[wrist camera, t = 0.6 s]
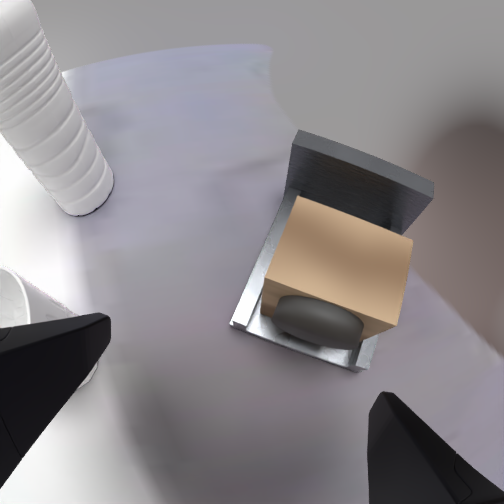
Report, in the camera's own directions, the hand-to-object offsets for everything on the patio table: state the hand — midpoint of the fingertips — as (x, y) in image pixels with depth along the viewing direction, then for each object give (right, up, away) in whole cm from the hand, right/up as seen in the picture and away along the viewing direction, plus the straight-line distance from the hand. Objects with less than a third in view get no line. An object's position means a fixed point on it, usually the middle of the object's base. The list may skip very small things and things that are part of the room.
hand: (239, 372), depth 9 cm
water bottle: (-17, +9, +19) cm, 27 cm away
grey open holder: (+6, +2, +16) cm, 17 cm away
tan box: (+5, 0, +13) cm, 14 cm away
